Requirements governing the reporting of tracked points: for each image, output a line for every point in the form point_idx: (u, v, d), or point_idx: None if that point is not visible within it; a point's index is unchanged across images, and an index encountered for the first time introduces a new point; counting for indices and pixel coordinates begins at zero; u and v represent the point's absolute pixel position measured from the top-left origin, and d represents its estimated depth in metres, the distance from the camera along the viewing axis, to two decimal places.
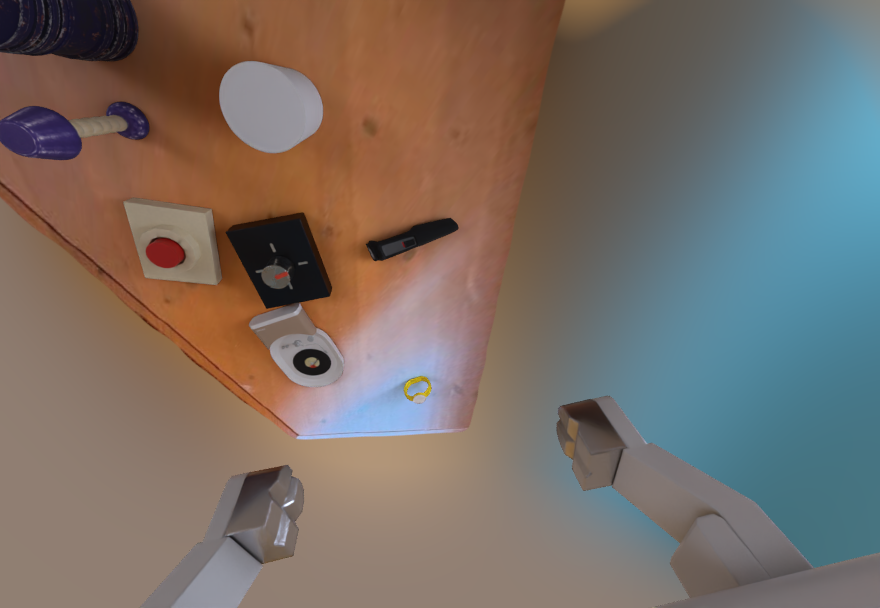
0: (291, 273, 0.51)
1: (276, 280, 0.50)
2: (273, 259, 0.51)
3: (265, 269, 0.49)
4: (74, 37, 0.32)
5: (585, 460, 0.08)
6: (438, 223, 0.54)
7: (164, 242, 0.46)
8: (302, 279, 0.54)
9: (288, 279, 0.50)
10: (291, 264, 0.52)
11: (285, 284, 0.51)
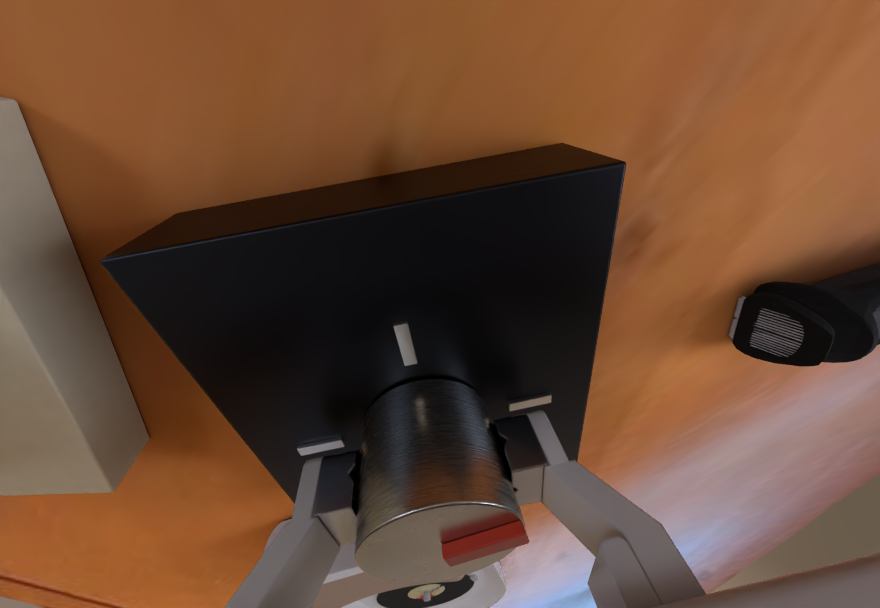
0: None
1: (441, 558, 0.08)
2: (413, 417, 0.08)
3: (390, 527, 0.07)
4: None
5: (510, 477, 0.08)
6: None
7: None
8: None
9: None
10: (491, 423, 0.10)
11: (483, 563, 0.09)
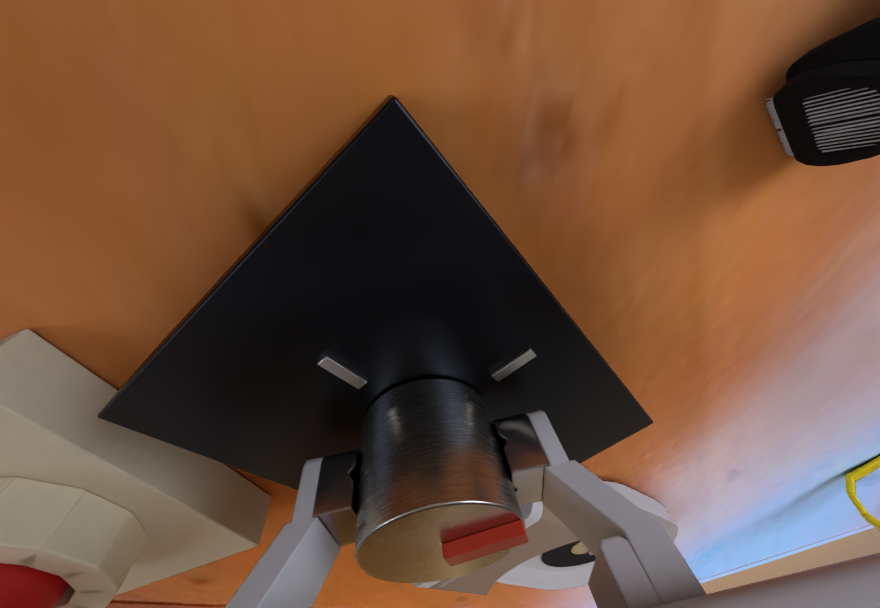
0: None
1: (441, 558, 0.08)
2: (413, 417, 0.08)
3: (390, 527, 0.07)
4: None
5: (510, 477, 0.08)
6: None
7: None
8: None
9: None
10: (491, 422, 0.10)
11: (484, 563, 0.09)
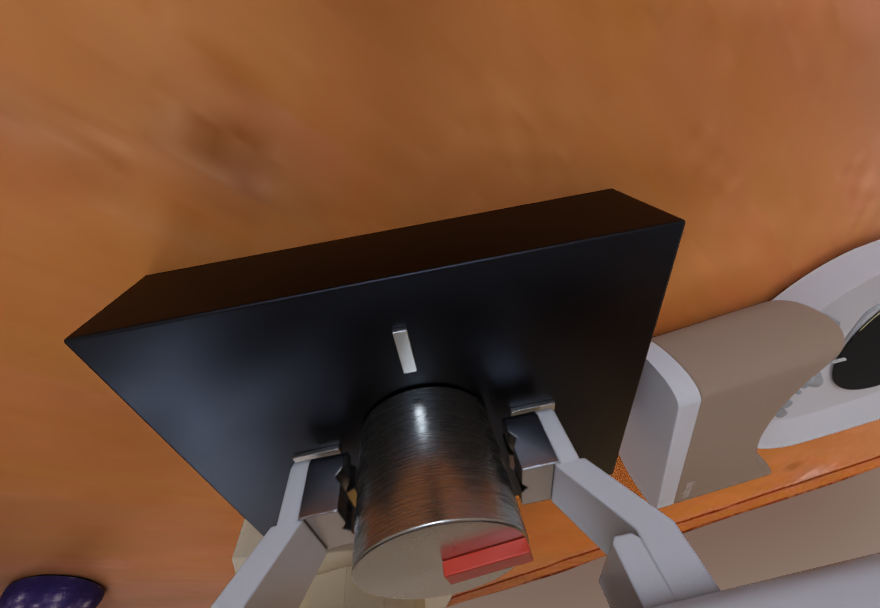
0: None
1: (440, 575, 0.08)
2: (415, 426, 0.08)
3: (390, 544, 0.06)
4: None
5: (520, 475, 0.08)
6: None
7: None
8: (515, 359, 0.09)
9: None
10: (494, 433, 0.09)
11: (483, 580, 0.08)
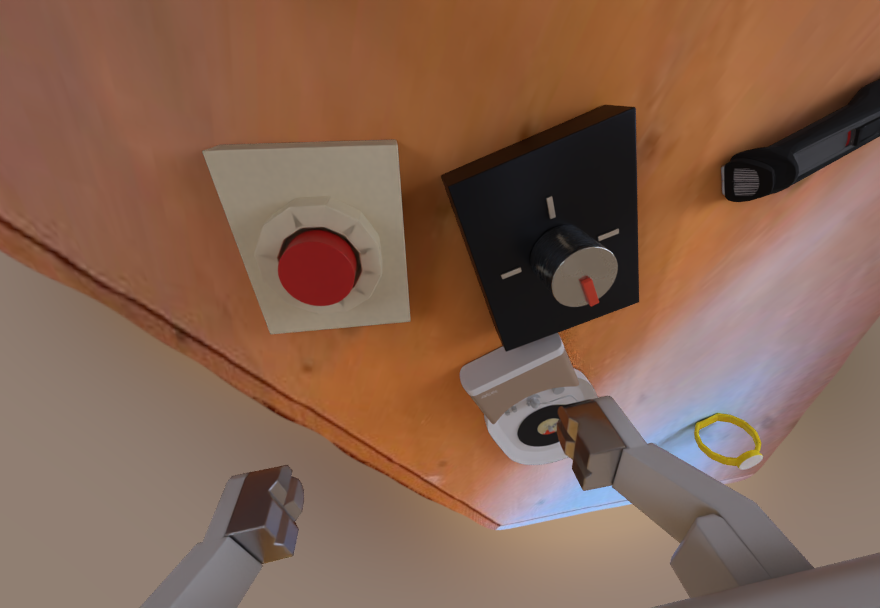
0: None
1: (576, 280, 0.19)
2: None
3: (610, 256, 0.19)
4: None
5: (585, 460, 0.08)
6: None
7: (317, 238, 0.17)
8: None
9: (575, 304, 0.20)
10: None
11: (562, 298, 0.20)
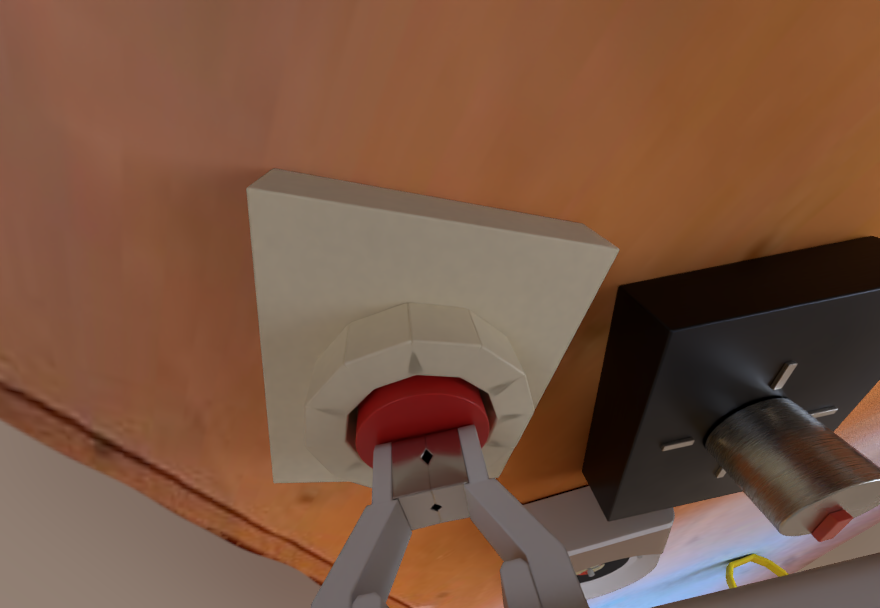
0: None
1: (826, 512, 0.12)
2: None
3: None
4: None
5: (432, 494, 0.08)
6: None
7: (448, 382, 0.09)
8: None
9: (796, 534, 0.13)
10: None
11: (788, 529, 0.12)
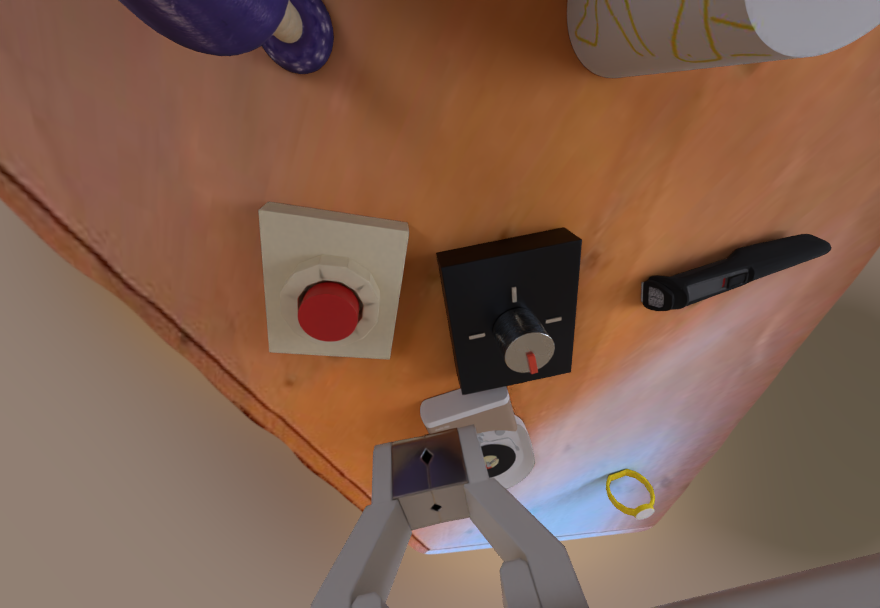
0: None
1: (523, 353, 0.26)
2: None
3: (549, 340, 0.25)
4: None
5: (432, 494, 0.08)
6: (791, 243, 0.30)
7: (335, 291, 0.22)
8: None
9: (520, 370, 0.26)
10: None
11: (511, 365, 0.26)
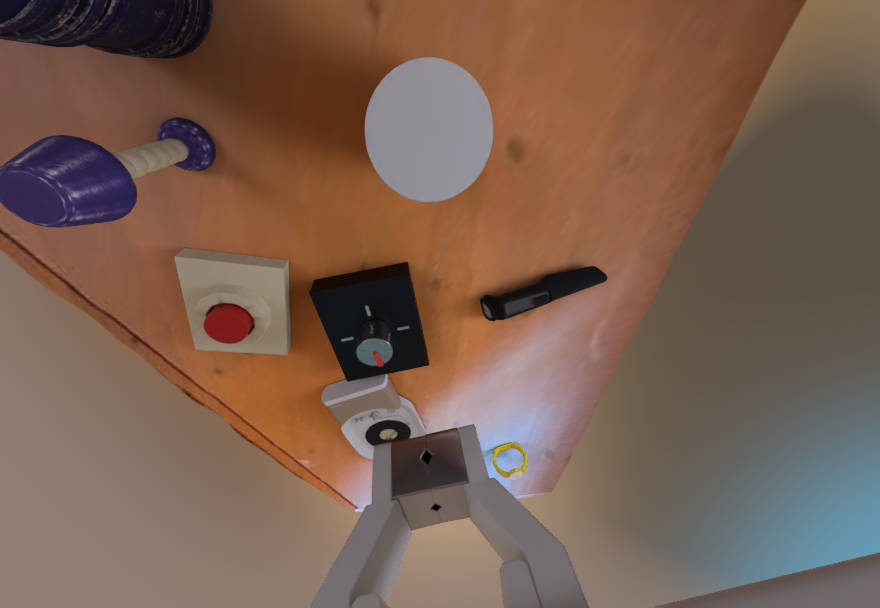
0: None
1: (369, 352, 0.37)
2: (391, 336, 0.39)
3: (386, 344, 0.36)
4: (129, 16, 0.18)
5: (432, 494, 0.08)
6: (580, 273, 0.41)
7: (229, 311, 0.33)
8: (398, 347, 0.41)
9: (371, 364, 0.38)
10: None
11: (363, 360, 0.37)
